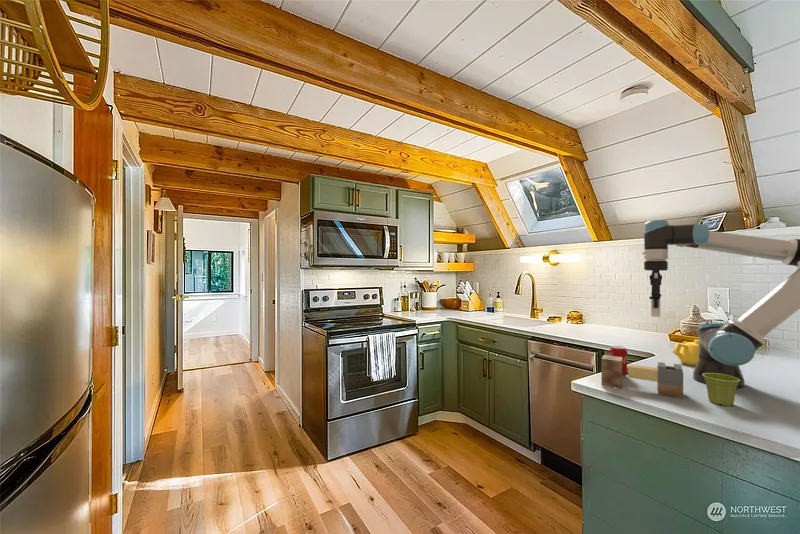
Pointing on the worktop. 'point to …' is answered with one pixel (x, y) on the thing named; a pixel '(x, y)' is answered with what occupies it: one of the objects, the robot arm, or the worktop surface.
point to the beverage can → (620, 352)
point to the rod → (642, 372)
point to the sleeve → (670, 380)
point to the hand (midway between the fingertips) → (655, 314)
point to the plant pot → (721, 388)
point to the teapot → (688, 352)
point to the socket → (612, 371)
